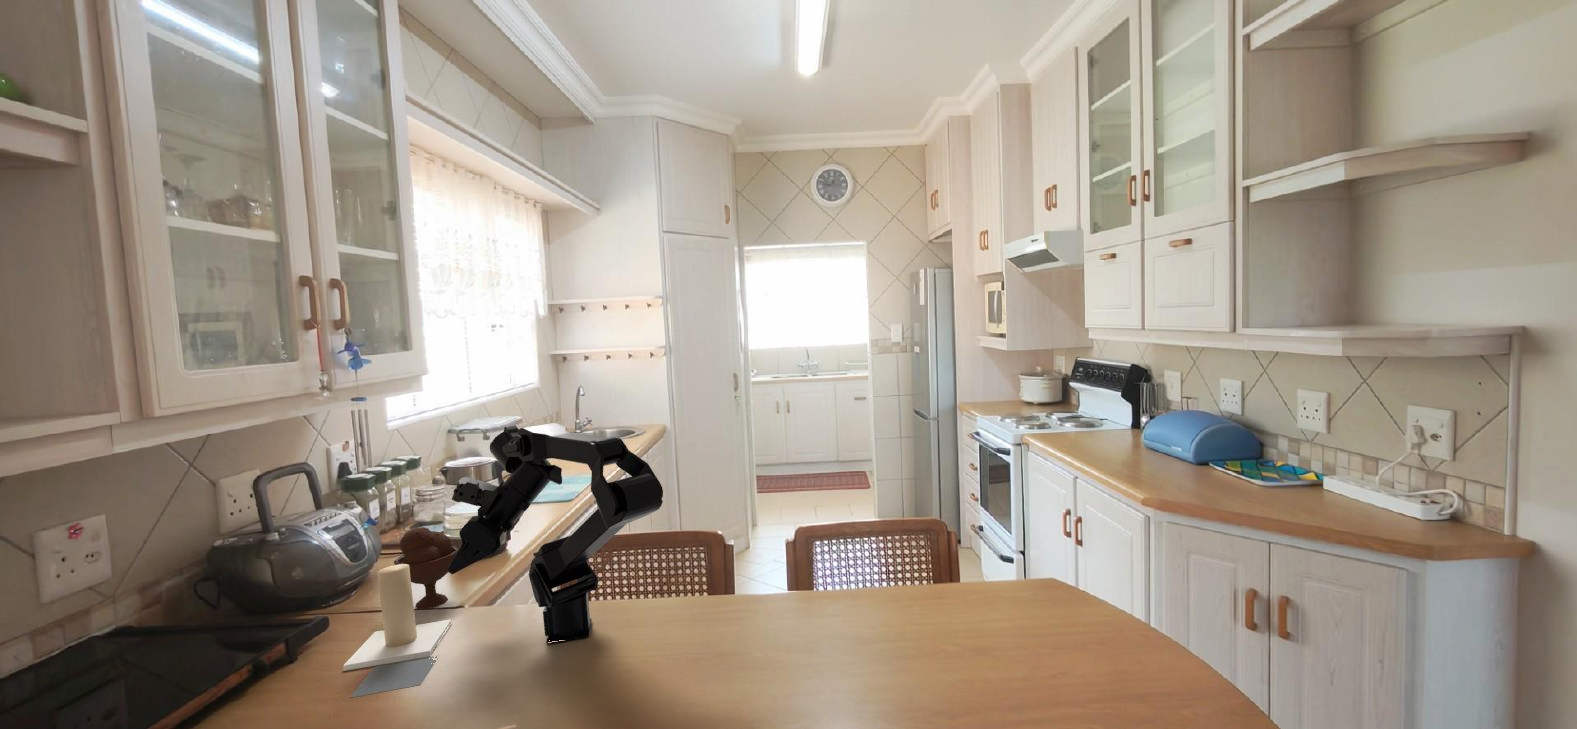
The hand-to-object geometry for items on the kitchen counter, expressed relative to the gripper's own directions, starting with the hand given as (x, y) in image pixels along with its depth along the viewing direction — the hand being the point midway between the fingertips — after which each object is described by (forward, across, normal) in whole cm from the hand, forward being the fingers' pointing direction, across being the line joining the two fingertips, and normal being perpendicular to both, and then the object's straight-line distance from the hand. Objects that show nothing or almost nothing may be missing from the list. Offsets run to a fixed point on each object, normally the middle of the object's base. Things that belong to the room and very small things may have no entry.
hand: (457, 562), depth 105 cm
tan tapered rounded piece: (+15, 0, +1) cm, 15 cm away
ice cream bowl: (+16, -19, +2) cm, 25 cm away
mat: (+14, +11, +4) cm, 18 cm away
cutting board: (+16, 0, +2) cm, 16 cm away
